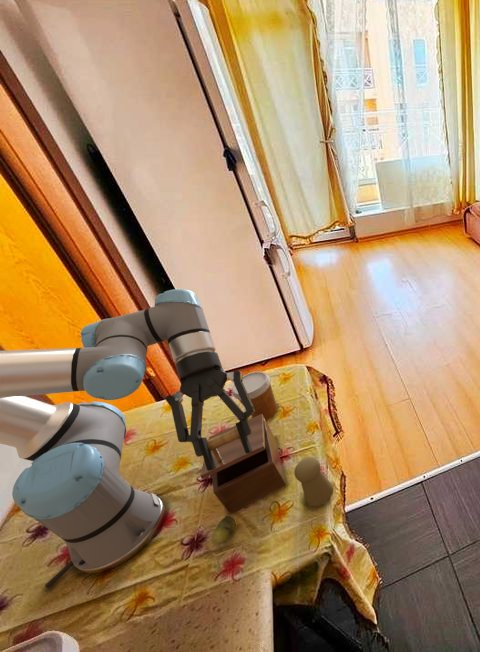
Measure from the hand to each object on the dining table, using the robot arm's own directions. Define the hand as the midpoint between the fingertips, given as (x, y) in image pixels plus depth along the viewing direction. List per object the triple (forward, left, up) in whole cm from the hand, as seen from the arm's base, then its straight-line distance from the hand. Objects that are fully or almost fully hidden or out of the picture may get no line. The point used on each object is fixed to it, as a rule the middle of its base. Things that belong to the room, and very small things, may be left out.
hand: (230, 460), depth 74 cm
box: (0, +9, -16) cm, 18 cm away
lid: (0, +9, -5) cm, 10 cm away
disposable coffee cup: (+5, +28, -16) cm, 33 cm away
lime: (-6, -4, -16) cm, 18 cm away
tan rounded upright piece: (+12, -6, -16) cm, 21 cm away
